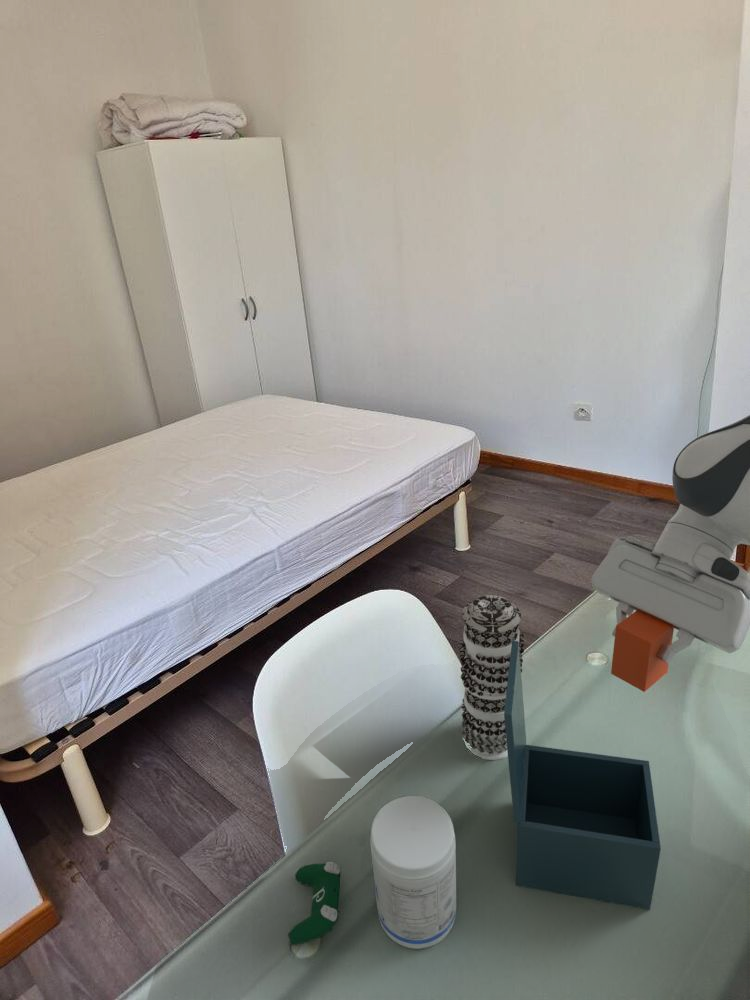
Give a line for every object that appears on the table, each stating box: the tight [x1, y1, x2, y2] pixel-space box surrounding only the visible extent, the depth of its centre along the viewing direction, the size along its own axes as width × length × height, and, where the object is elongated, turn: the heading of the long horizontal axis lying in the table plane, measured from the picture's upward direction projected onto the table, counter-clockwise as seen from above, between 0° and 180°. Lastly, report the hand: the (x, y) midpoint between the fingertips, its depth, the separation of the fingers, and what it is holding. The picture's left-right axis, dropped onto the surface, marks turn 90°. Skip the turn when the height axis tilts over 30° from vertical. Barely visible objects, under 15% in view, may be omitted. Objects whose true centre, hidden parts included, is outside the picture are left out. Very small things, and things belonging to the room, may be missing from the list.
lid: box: [504, 641, 527, 824], centre depth 82 cm, size 16×13×1 cm
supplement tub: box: [369, 795, 457, 950], centre depth 79 cm, size 10×10×15 cm
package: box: [610, 609, 675, 693], centre depth 91 cm, size 5×6×8 cm
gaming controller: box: [287, 861, 342, 945], centre depth 83 cm, size 9×4×6 cm
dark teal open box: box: [514, 744, 662, 911], centre depth 86 cm, size 16×13×11 cm
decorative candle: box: [458, 594, 525, 761], centre depth 100 cm, size 9×9×25 cm
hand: (639, 649), depth 90 cm, fingers closed on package, 5 cm apart
